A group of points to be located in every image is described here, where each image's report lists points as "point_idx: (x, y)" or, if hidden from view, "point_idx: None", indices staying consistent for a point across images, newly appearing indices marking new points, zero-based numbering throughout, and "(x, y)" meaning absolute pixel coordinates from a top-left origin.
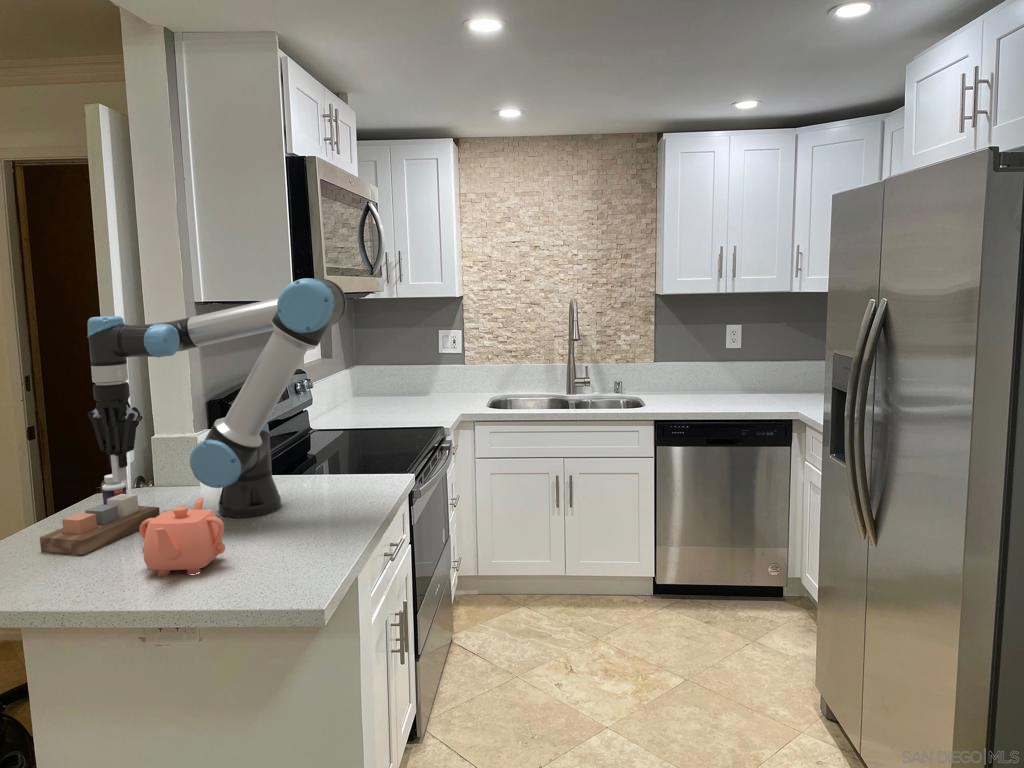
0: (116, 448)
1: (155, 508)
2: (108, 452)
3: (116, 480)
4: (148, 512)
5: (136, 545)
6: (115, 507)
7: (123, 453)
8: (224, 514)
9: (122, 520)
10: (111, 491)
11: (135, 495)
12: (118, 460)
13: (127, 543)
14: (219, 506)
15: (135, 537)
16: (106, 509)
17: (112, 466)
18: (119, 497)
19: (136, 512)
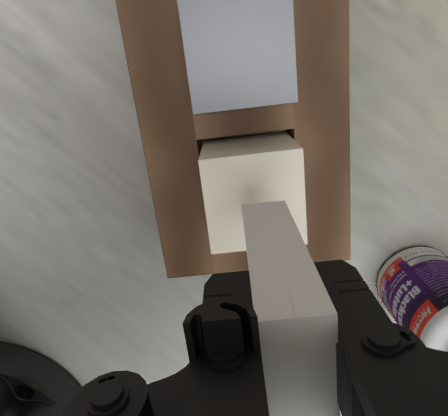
0: (251, 405)
1: (167, 261)
2: (380, 333)
3: (257, 208)
4: (157, 220)
5: (12, 10)
6: (192, 100)
7: (176, 377)
8: (2, 346)
9: (159, 94)
10: (445, 303)
11: (210, 243)
12: (252, 307)
13: (67, 17)
14: (25, 373)
15: (102, 85)
16: (185, 36)
17: (297, 249)
18: (261, 193)
19: (197, 200)
